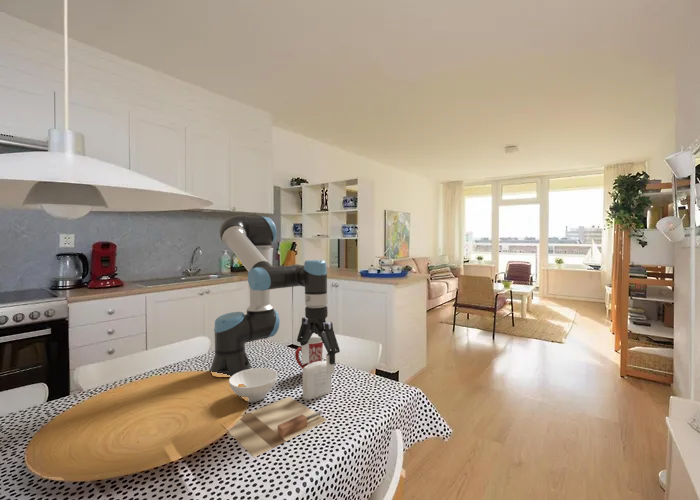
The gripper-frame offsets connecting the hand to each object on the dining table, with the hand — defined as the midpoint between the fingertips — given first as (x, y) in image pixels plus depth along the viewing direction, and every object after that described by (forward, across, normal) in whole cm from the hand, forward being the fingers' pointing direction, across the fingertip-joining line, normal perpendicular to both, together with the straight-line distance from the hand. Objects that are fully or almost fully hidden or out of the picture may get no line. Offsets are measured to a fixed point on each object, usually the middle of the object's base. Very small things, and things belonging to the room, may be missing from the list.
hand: (317, 368), depth 109 cm
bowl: (+10, -17, -15) cm, 25 cm away
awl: (+9, +12, -15) cm, 21 cm away
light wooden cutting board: (+10, +4, -20) cm, 23 cm away
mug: (+10, -18, +10) cm, 23 cm away
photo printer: (+11, -1, 0) cm, 11 cm away
